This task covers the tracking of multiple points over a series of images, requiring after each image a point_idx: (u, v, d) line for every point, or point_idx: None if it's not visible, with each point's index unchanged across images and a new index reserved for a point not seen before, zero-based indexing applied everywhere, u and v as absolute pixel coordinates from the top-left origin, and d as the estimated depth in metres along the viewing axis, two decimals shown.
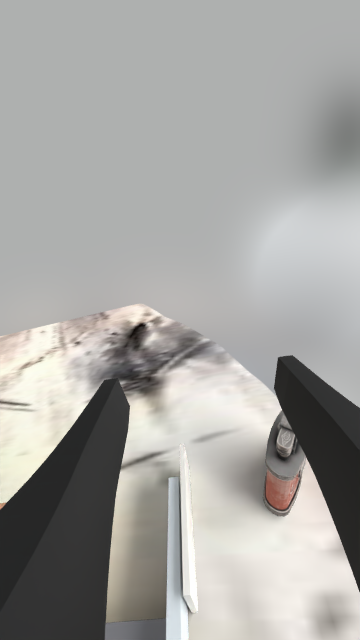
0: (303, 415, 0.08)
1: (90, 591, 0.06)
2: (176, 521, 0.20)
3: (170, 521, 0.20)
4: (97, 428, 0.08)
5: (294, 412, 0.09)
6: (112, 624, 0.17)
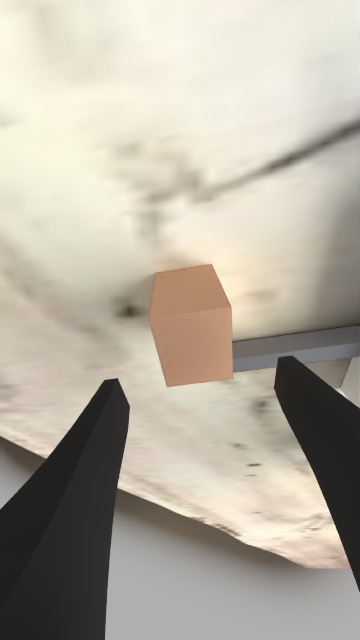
0: (303, 415, 0.08)
1: (90, 591, 0.06)
2: None
3: None
4: (97, 428, 0.08)
5: (294, 412, 0.09)
6: (327, 347, 0.17)
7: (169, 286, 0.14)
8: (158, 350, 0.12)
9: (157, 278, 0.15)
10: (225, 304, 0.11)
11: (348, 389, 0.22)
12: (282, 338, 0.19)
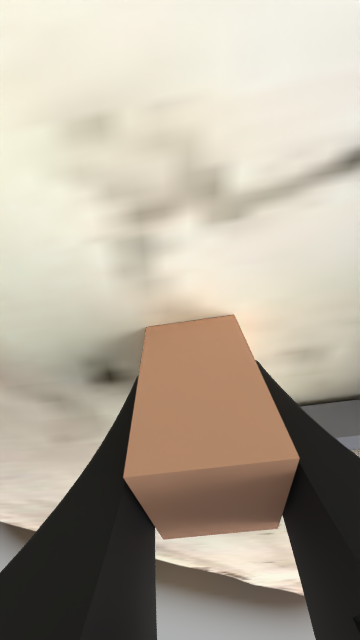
0: None
1: (145, 586, 0.06)
2: None
3: None
4: None
5: None
6: None
7: (167, 364, 0.08)
8: (146, 509, 0.06)
9: (148, 342, 0.09)
10: (283, 444, 0.05)
11: None
12: (330, 408, 0.13)
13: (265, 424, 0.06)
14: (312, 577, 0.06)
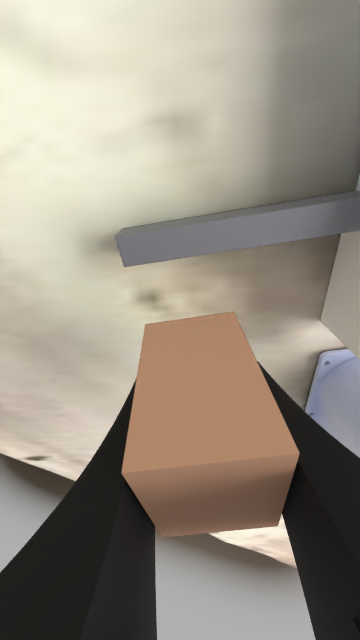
0: None
1: (145, 586, 0.06)
2: None
3: None
4: None
5: None
6: (285, 211, 0.10)
7: (166, 361, 0.08)
8: (145, 506, 0.06)
9: (147, 338, 0.09)
10: (283, 440, 0.05)
11: (330, 316, 0.15)
12: (220, 213, 0.12)
13: (265, 419, 0.06)
14: (312, 577, 0.06)
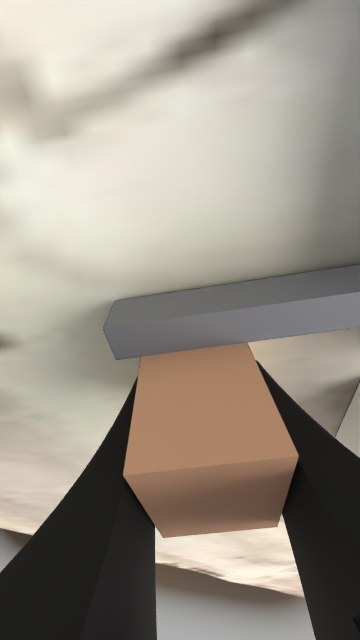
0: None
1: (145, 586, 0.06)
2: None
3: None
4: None
5: None
6: (340, 296, 0.07)
7: (167, 363, 0.08)
8: (146, 507, 0.06)
9: None
10: (283, 442, 0.05)
11: (346, 443, 0.15)
12: (244, 285, 0.09)
13: (264, 422, 0.06)
14: (312, 577, 0.06)
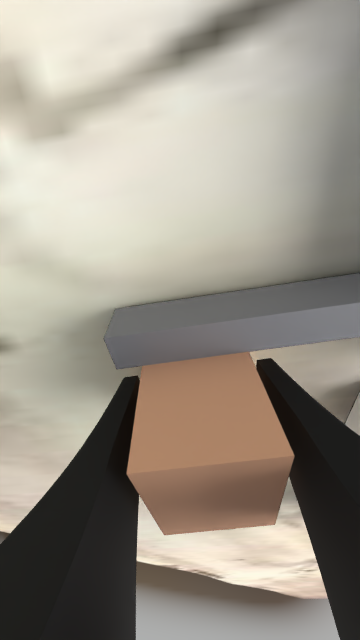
0: (278, 418, 0.08)
1: (122, 588, 0.06)
2: None
3: None
4: (123, 425, 0.08)
5: None
6: (343, 306, 0.07)
7: (168, 366, 0.08)
8: (148, 505, 0.07)
9: None
10: (279, 443, 0.05)
11: None
12: (245, 294, 0.09)
13: (262, 423, 0.06)
14: (337, 575, 0.06)
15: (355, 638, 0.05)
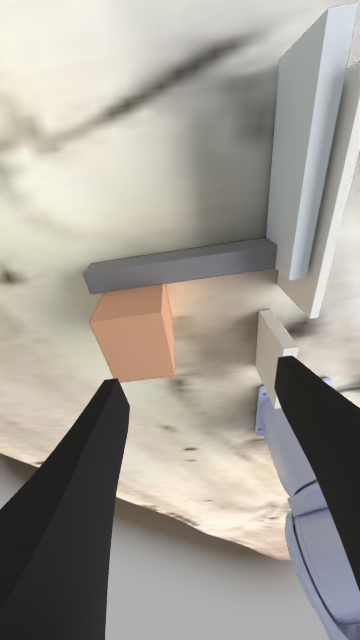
0: (303, 415, 0.08)
1: (90, 591, 0.06)
2: (326, 139, 0.10)
3: (314, 141, 0.10)
4: (97, 428, 0.08)
5: (294, 412, 0.09)
6: (206, 256, 0.14)
7: (119, 291, 0.15)
8: (102, 349, 0.13)
9: None
10: (157, 309, 0.12)
11: (258, 365, 0.22)
12: (164, 254, 0.16)
13: (153, 305, 0.13)
14: None
15: None
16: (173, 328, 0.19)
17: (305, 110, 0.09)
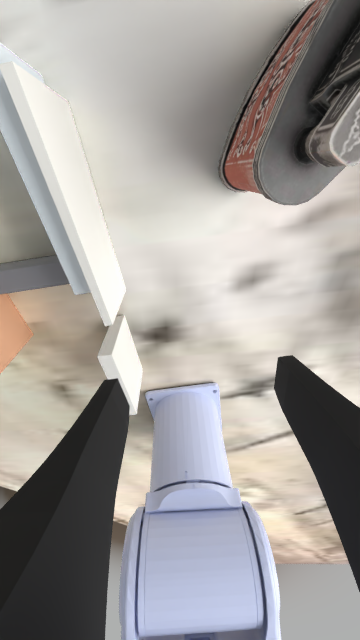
0: (303, 415, 0.08)
1: (90, 591, 0.06)
2: (31, 160, 0.10)
3: (20, 162, 0.10)
4: (97, 428, 0.08)
5: (294, 412, 0.09)
6: (10, 271, 0.14)
7: None
8: None
9: None
10: None
11: None
12: None
13: None
14: None
15: None
16: (27, 339, 0.19)
17: None
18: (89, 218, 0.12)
